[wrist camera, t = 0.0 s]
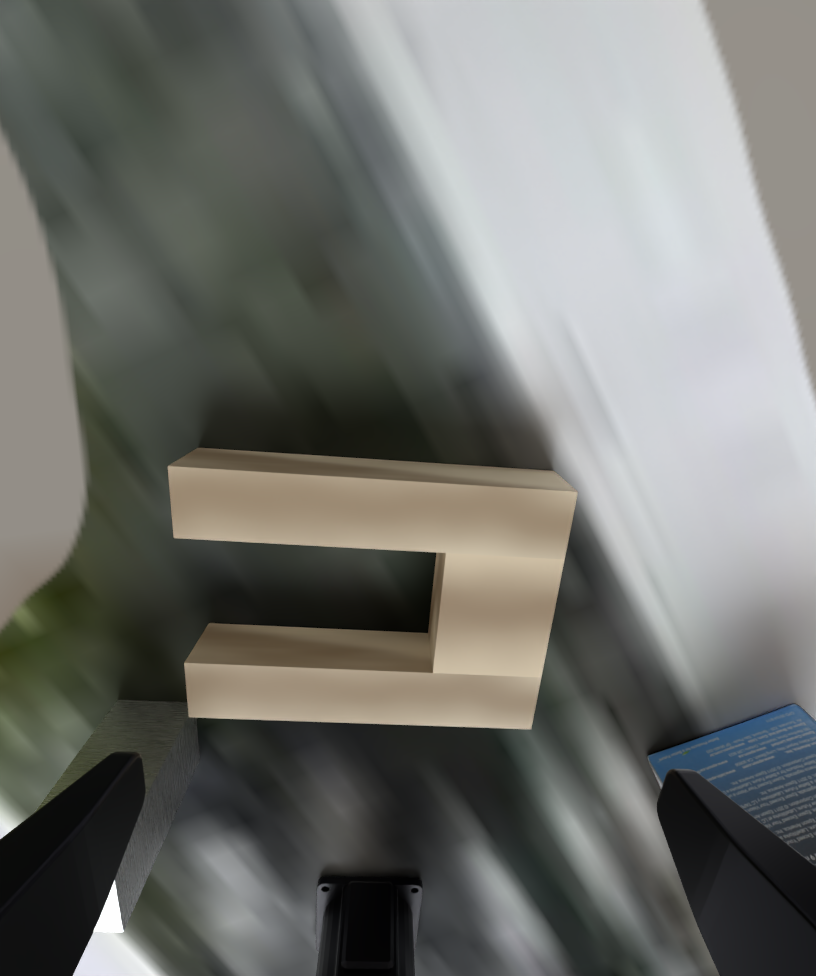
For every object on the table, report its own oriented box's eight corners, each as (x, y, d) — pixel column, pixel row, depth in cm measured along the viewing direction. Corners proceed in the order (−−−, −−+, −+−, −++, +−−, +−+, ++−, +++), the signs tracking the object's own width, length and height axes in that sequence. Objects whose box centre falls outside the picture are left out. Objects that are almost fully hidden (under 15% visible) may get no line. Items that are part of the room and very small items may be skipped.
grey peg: (199, 760, 27) (123, 932, 19) (125, 758, 26) (18, 930, 19) (195, 702, 25) (111, 861, 18) (117, 699, 25) (-1, 859, 18)
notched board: (515, 685, 26) (530, 729, 23) (212, 672, 25) (188, 717, 22) (553, 470, 22) (577, 491, 19) (198, 447, 21) (167, 466, 18)
